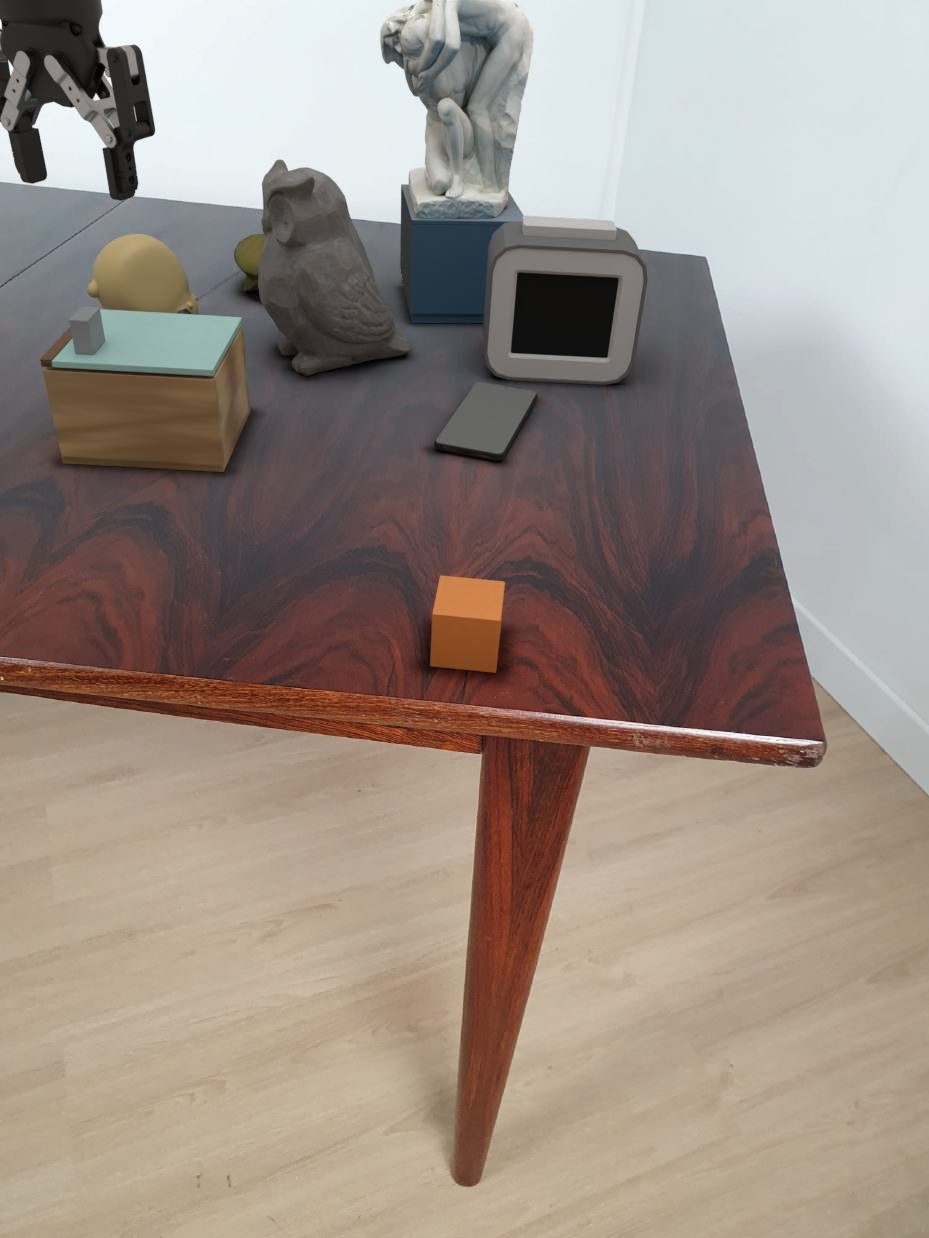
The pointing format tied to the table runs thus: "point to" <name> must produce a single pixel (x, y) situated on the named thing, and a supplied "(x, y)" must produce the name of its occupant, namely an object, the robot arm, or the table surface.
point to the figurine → (320, 276)
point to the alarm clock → (563, 301)
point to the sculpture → (458, 145)
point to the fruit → (250, 259)
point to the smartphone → (486, 421)
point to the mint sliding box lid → (143, 342)
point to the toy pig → (141, 277)
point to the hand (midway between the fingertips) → (78, 189)
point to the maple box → (151, 415)
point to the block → (467, 624)
